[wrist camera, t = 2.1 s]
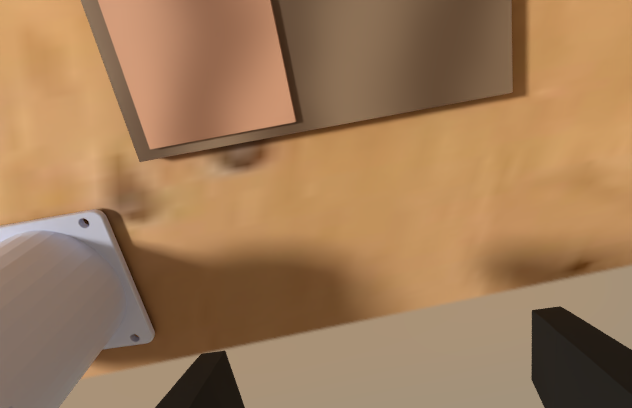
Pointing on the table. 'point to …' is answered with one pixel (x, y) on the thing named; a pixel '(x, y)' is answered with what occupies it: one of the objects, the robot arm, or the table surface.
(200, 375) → the robot arm
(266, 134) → the walnut rack
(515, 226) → the table surface
